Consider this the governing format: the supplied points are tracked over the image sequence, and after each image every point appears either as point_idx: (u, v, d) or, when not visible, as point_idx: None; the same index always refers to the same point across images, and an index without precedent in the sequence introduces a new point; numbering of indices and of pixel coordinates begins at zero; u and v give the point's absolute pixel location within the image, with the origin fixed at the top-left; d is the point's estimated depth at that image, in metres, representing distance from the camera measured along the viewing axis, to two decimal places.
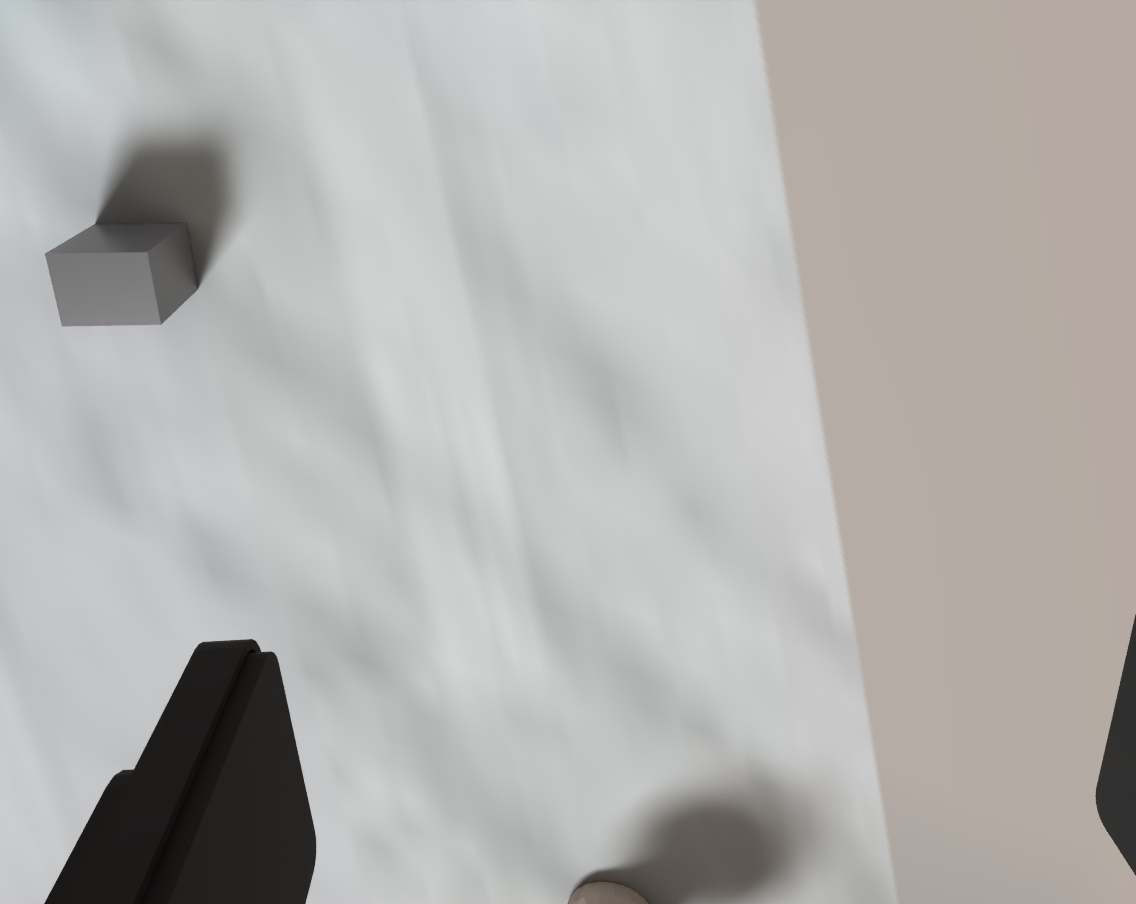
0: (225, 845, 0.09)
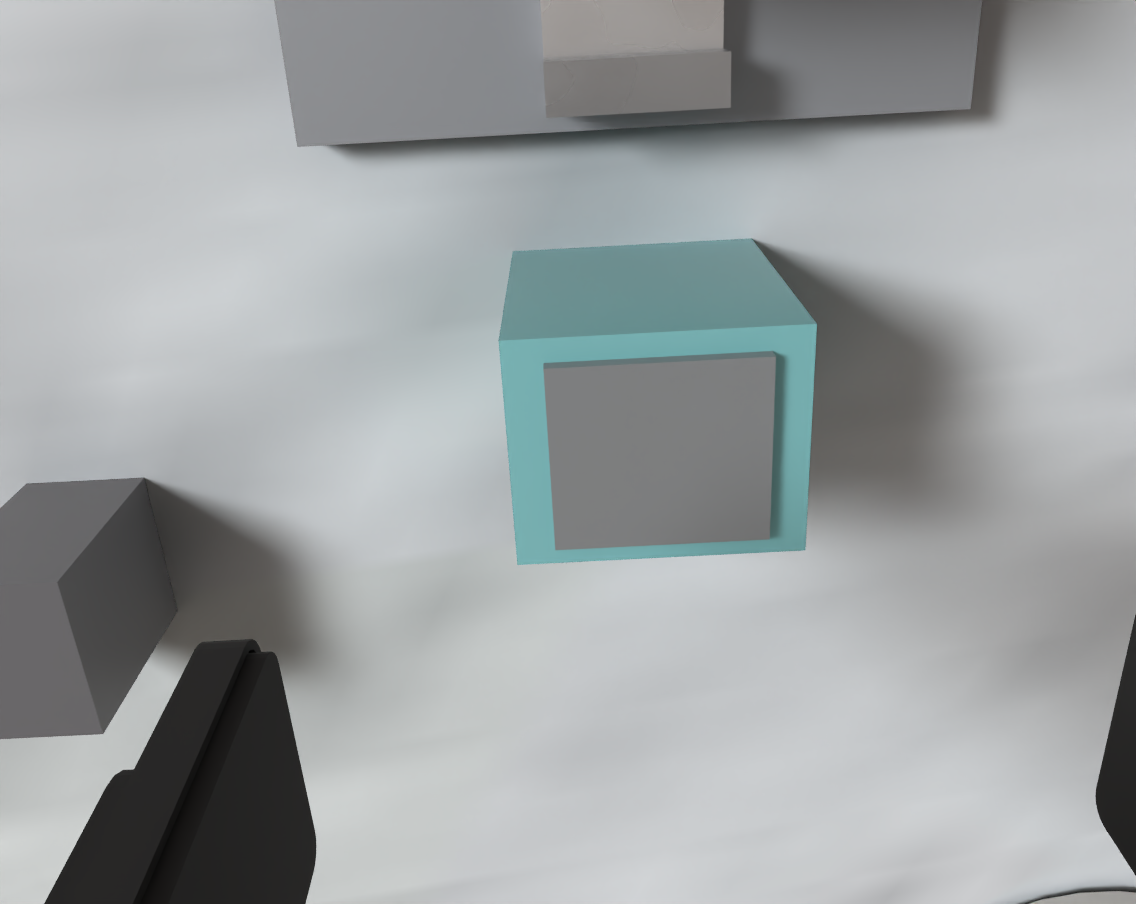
0: (225, 845, 0.09)
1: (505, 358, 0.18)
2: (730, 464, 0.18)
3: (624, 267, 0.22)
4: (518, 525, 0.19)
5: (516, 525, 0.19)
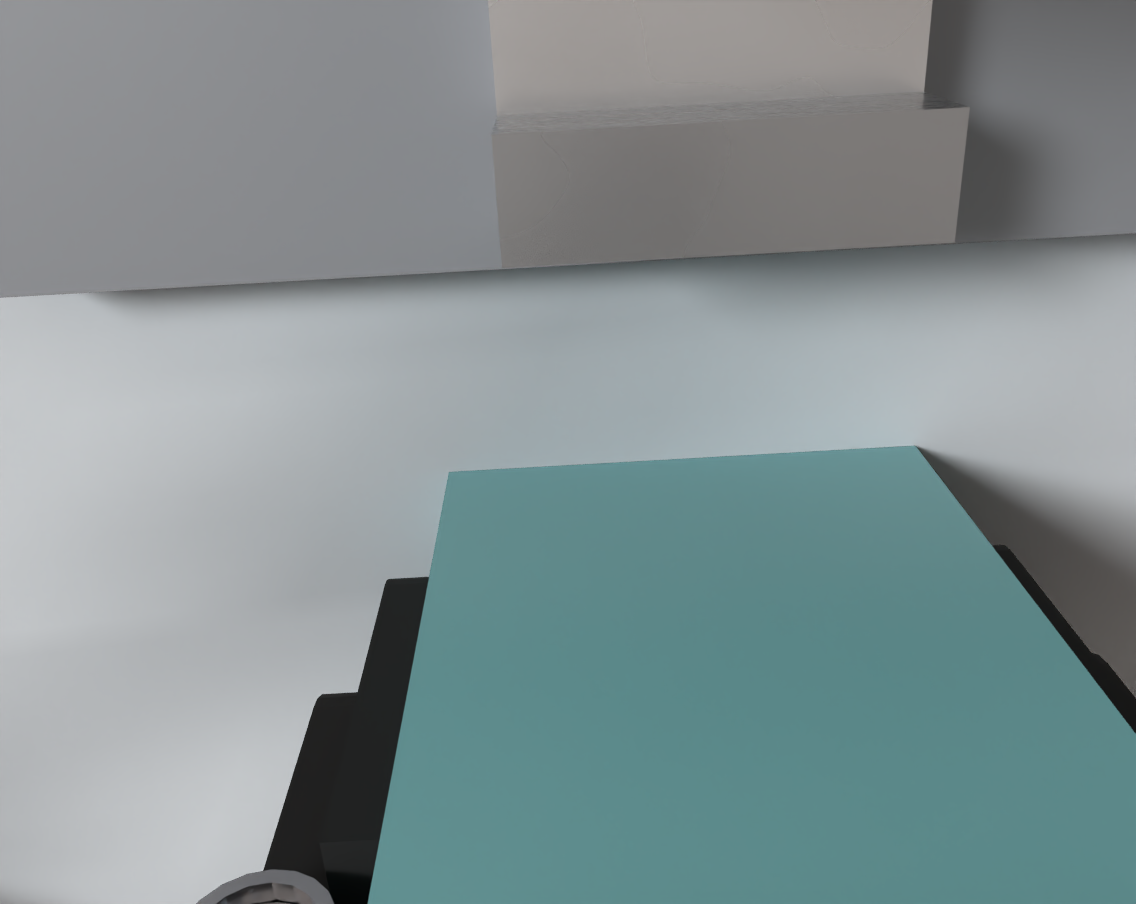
0: None
1: None
2: None
3: (676, 548, 0.10)
4: None
5: None
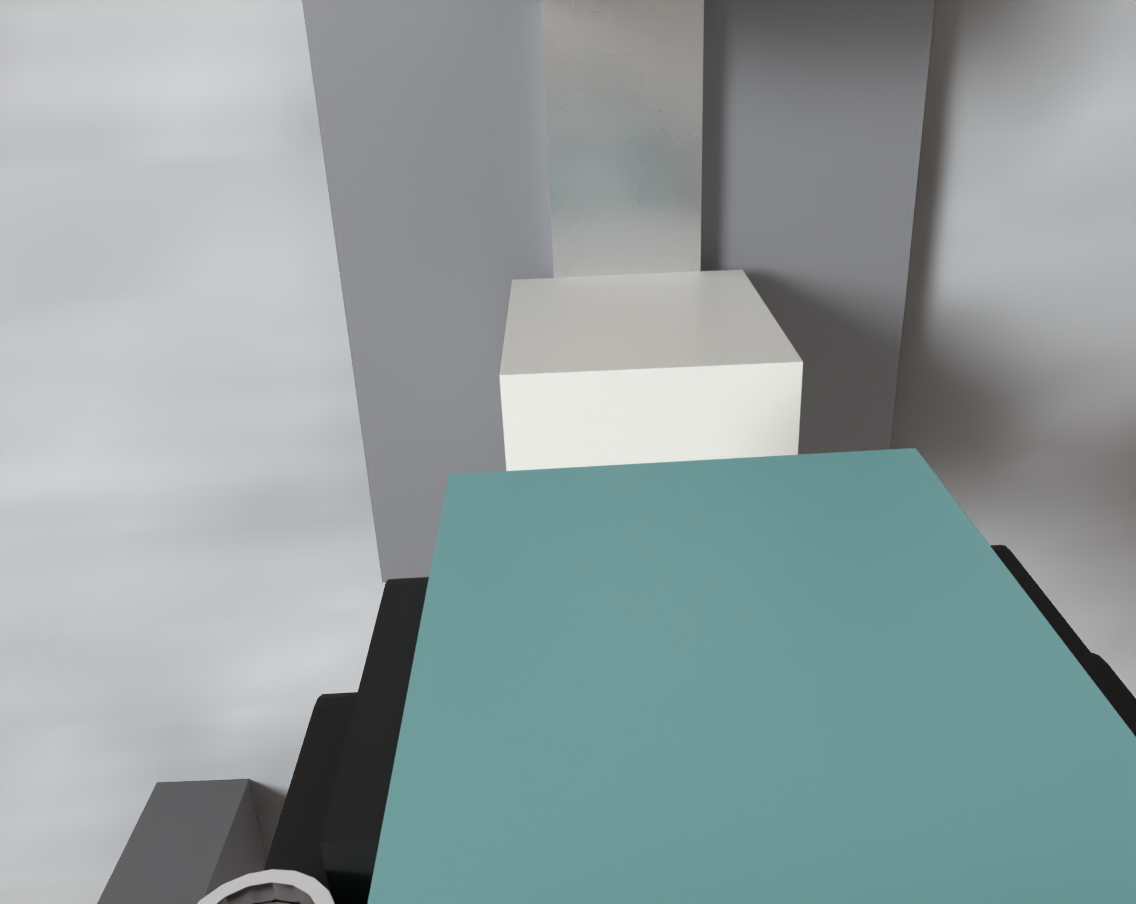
0: None
1: None
2: None
3: (676, 551, 0.10)
4: None
5: None
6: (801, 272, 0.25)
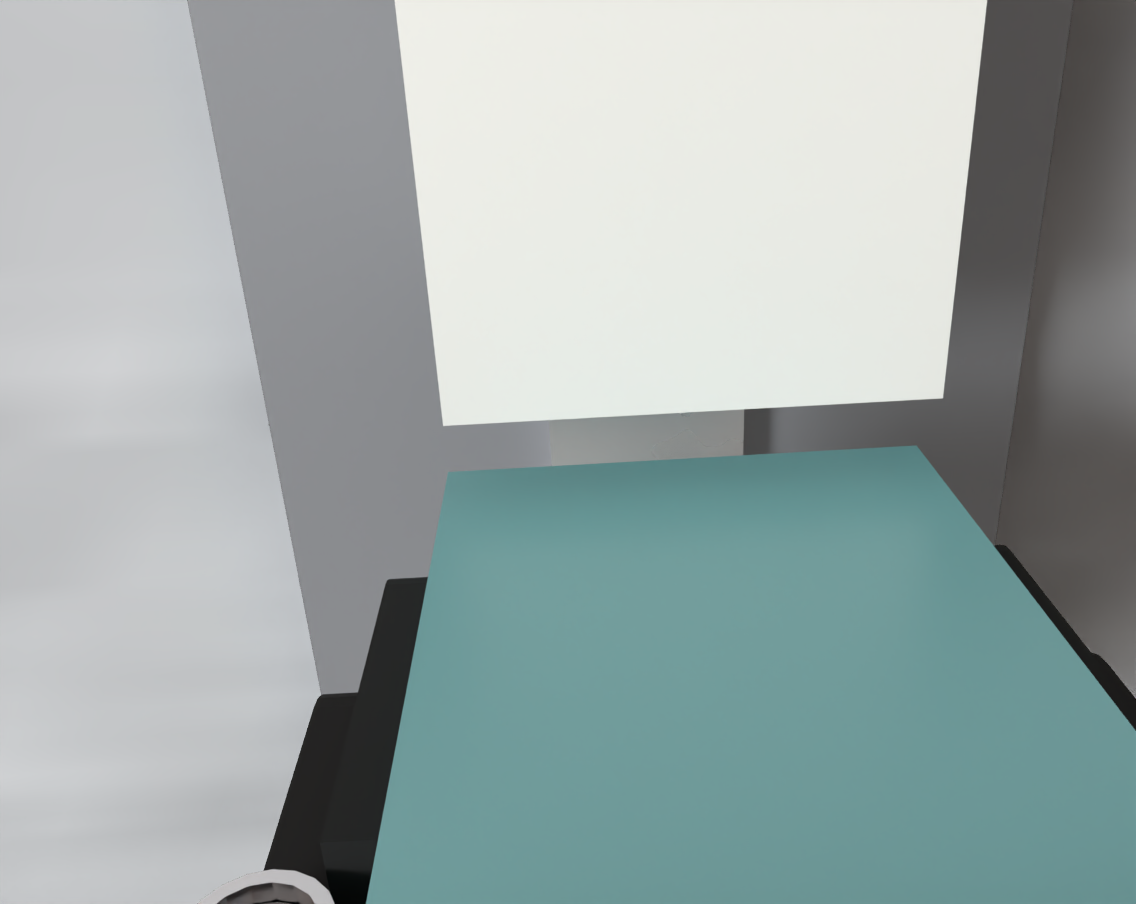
0: None
1: None
2: None
3: (676, 548, 0.10)
4: None
5: None
6: None
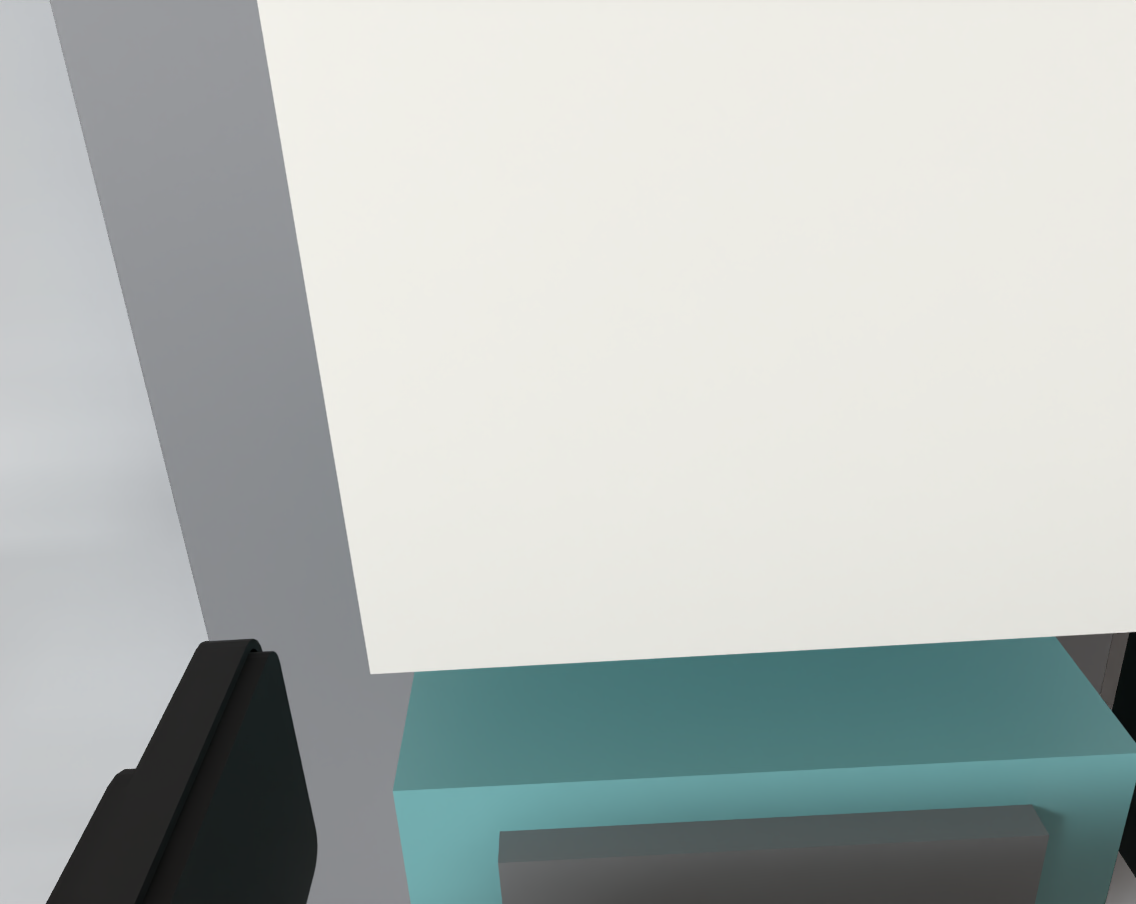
0: (227, 844, 0.09)
1: (410, 823, 0.08)
2: None
3: None
4: None
5: None
6: None
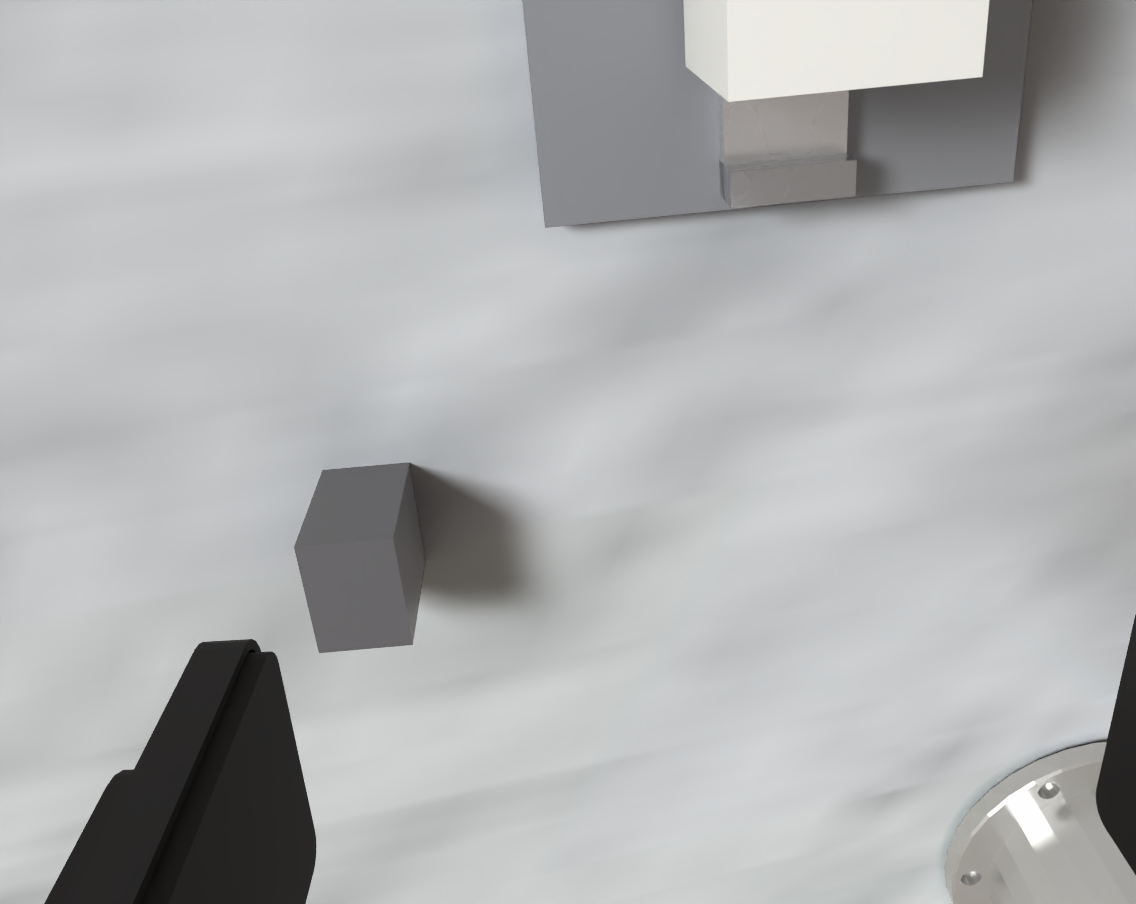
0: (225, 845, 0.09)
1: None
2: None
3: None
4: None
5: None
6: None
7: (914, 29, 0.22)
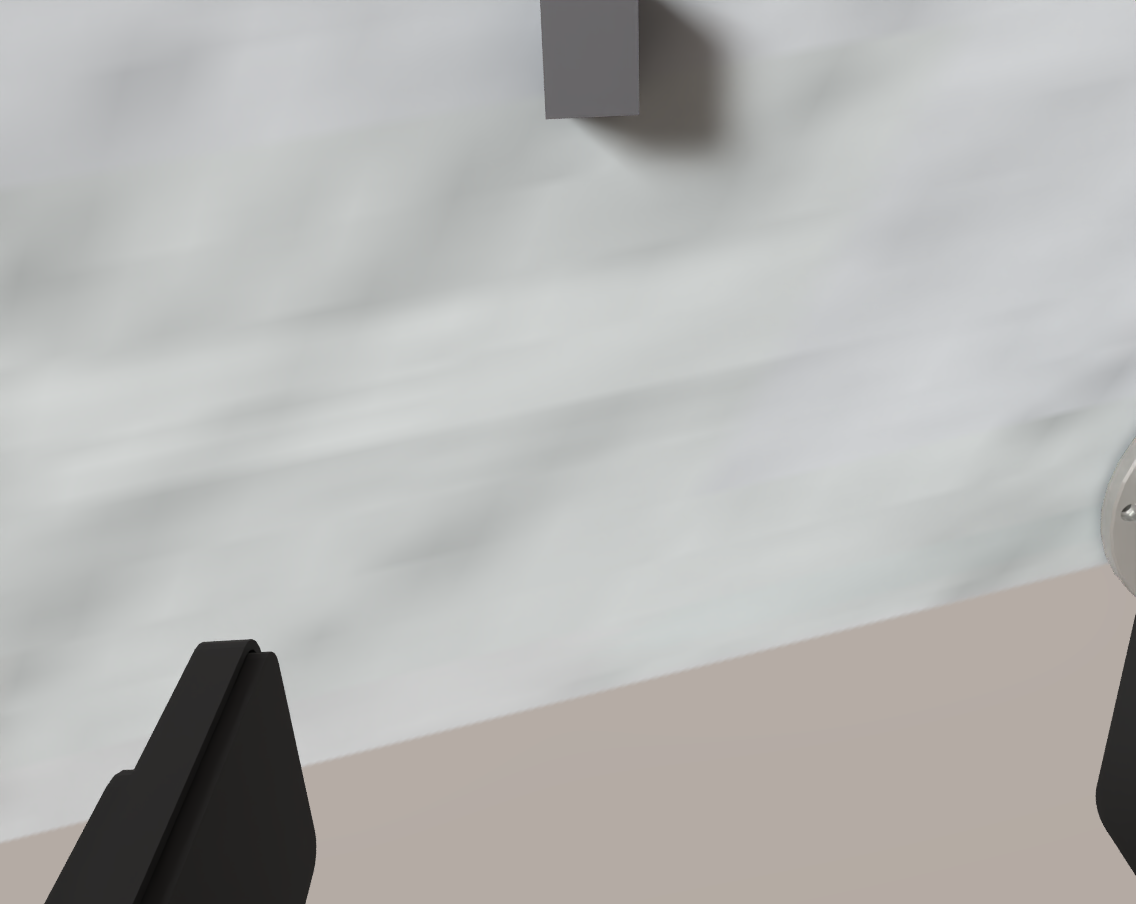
0: (225, 845, 0.09)
1: None
2: None
3: None
4: None
5: None
6: None
7: None
